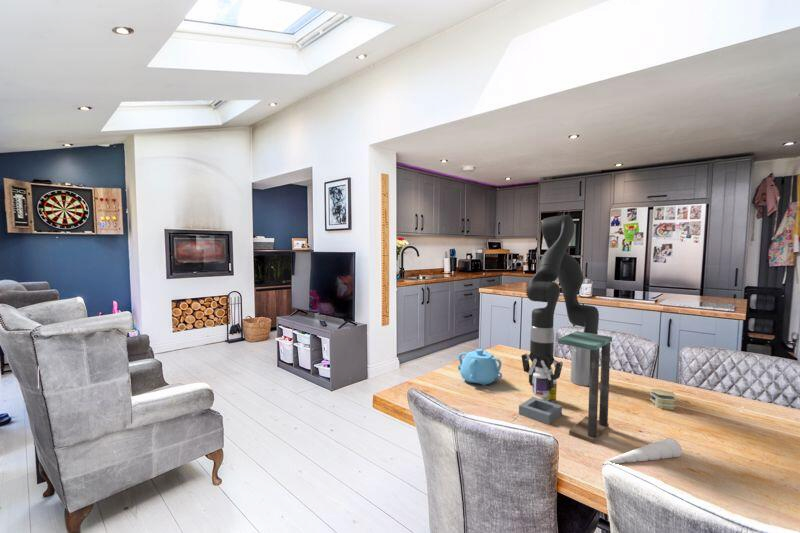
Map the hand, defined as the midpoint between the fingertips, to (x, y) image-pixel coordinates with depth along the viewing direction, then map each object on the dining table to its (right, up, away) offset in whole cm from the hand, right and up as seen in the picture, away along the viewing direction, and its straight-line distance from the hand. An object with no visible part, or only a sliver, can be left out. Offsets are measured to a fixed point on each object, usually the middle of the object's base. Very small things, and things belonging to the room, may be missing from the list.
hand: (540, 387), depth 128 cm
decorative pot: (-14, -8, +32) cm, 36 cm away
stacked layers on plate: (+47, -10, +7) cm, 48 cm away
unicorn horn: (+18, -12, -27) cm, 34 cm away
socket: (0, -9, 0) cm, 9 cm away
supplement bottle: (+7, -9, +12) cm, 16 cm away
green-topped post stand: (+10, -10, -10) cm, 17 cm away
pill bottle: (0, -3, 0) cm, 3 cm away
